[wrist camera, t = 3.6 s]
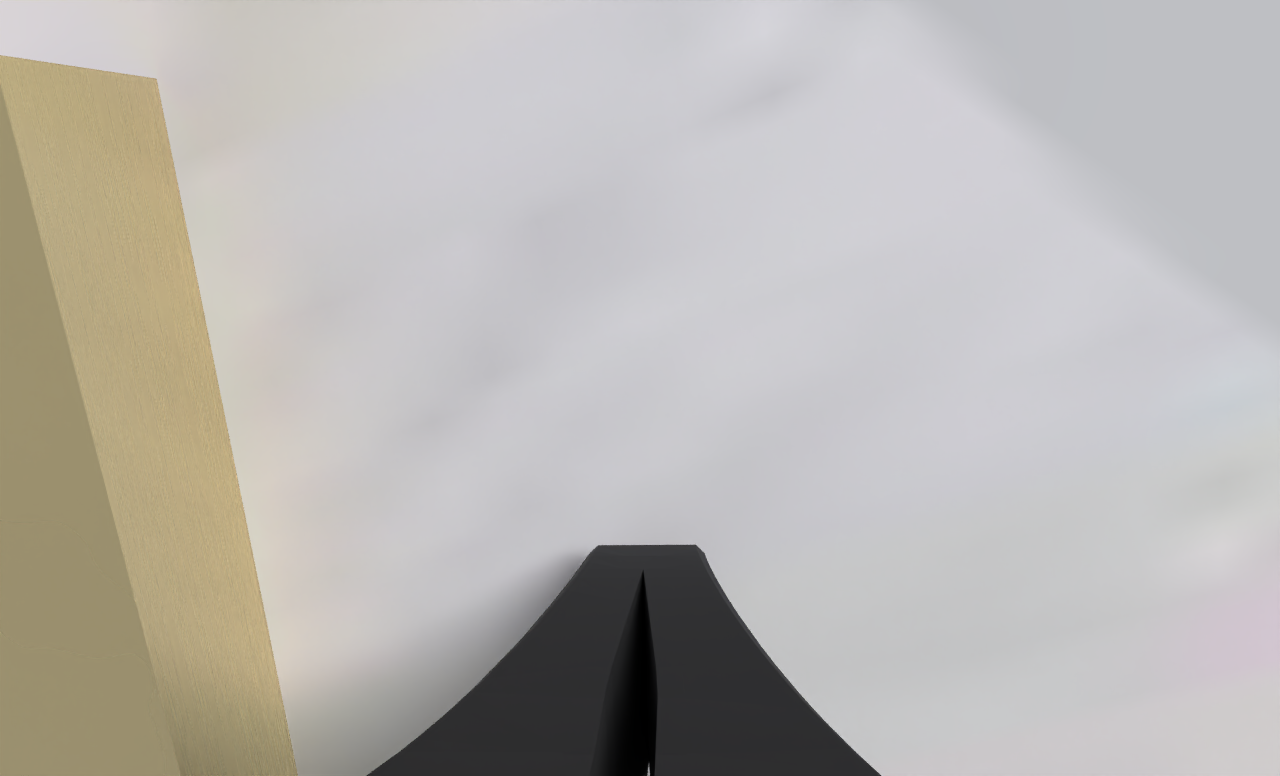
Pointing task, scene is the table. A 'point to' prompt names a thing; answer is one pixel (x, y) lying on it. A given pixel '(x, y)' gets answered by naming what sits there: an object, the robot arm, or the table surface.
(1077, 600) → the table surface
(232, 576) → the loose hinge leaf
